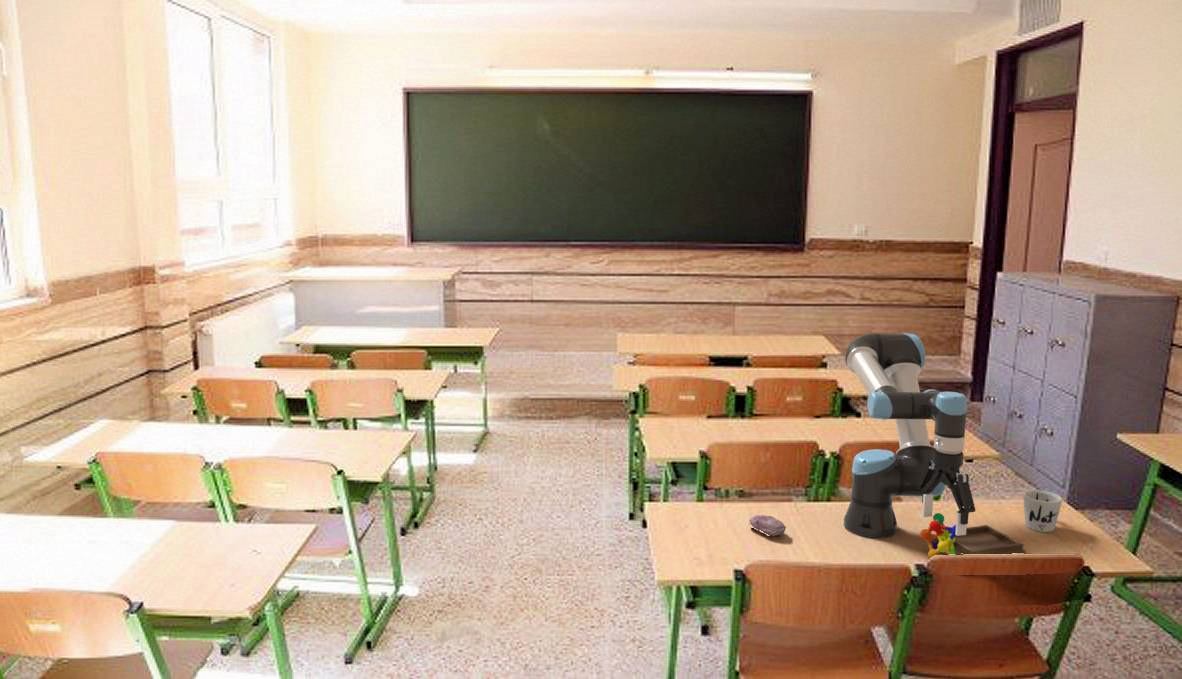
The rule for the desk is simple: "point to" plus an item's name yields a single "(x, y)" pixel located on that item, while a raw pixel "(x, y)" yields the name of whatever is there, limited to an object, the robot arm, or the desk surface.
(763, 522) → the fossil
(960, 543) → the base
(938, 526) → the molecular model
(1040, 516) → the mug
